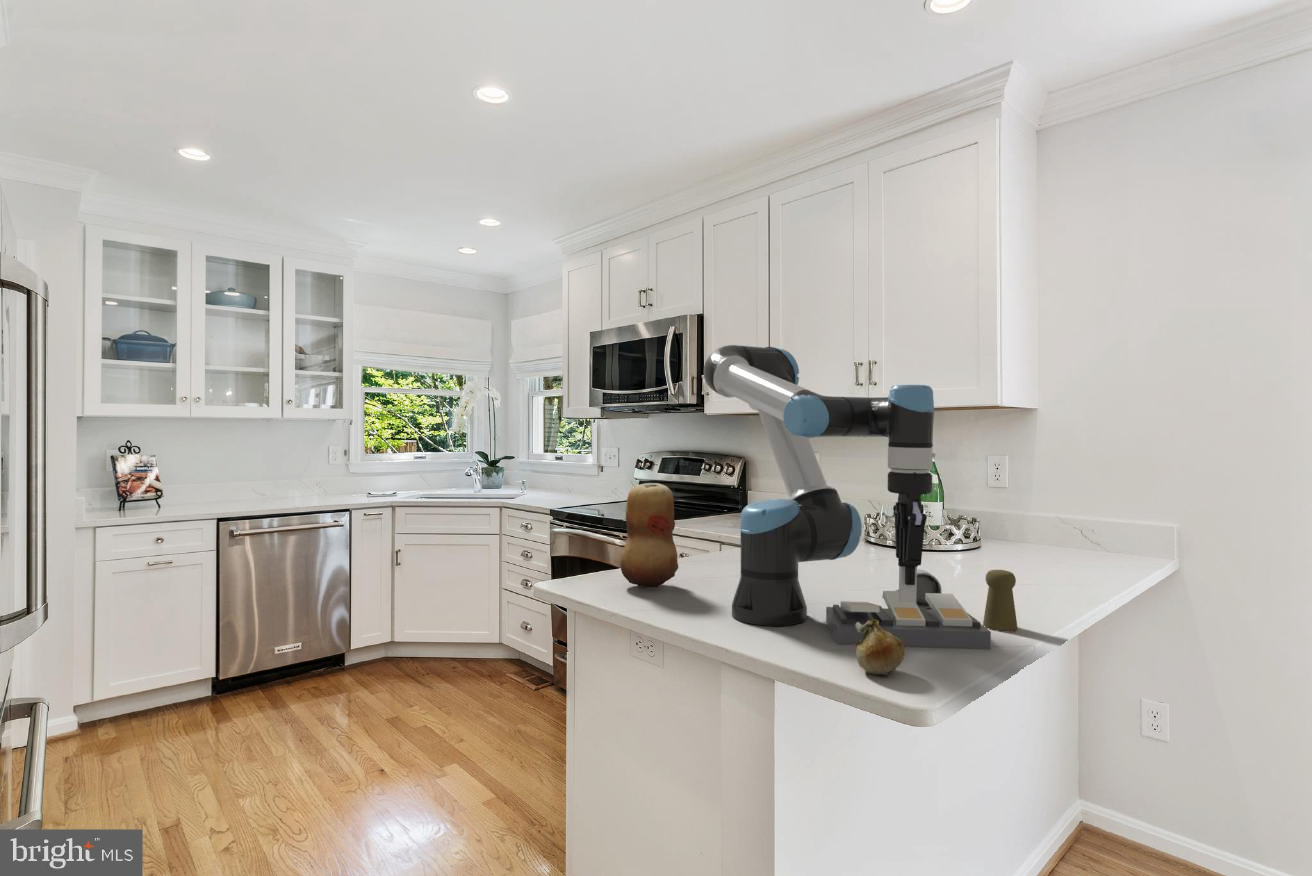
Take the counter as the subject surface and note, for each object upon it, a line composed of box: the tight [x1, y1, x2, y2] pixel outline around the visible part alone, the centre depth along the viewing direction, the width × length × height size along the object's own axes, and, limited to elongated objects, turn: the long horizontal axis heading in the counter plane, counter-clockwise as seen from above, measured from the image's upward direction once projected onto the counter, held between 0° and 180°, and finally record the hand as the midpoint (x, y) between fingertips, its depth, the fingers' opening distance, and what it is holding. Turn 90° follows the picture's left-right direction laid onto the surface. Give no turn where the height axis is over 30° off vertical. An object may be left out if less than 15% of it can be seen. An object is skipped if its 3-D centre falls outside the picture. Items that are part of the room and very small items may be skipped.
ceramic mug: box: [895, 568, 943, 610], centre depth 150 cm, size 11×8×8 cm
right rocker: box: [925, 592, 973, 626], centre depth 126 cm, size 5×11×1 cm, turn 174°
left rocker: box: [839, 600, 880, 612], centre depth 128 cm, size 5×11×1 cm, turn 174°
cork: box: [982, 569, 1018, 633], centre depth 132 cm, size 6×6×11 cm
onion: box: [855, 619, 906, 676], centre depth 107 cm, size 8×8×8 cm
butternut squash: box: [620, 482, 679, 588], centre depth 165 cm, size 14×13×25 cm
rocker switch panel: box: [825, 604, 992, 650], centre depth 127 cm, size 26×14×4 cm, turn 84°
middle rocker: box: [882, 590, 926, 626], centre depth 127 cm, size 5×11×1 cm, turn 174°
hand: (907, 601), depth 123 cm, fingers closed
